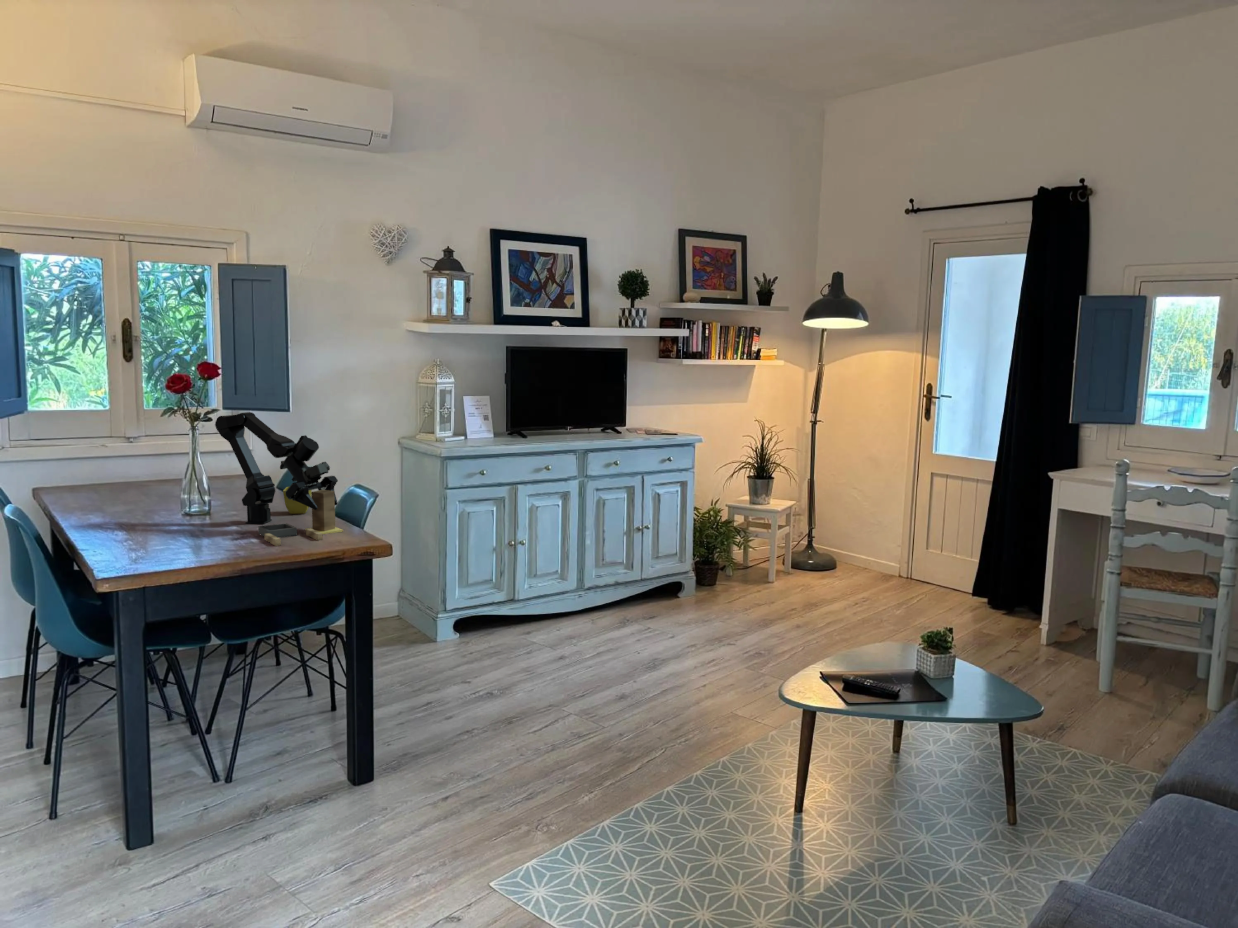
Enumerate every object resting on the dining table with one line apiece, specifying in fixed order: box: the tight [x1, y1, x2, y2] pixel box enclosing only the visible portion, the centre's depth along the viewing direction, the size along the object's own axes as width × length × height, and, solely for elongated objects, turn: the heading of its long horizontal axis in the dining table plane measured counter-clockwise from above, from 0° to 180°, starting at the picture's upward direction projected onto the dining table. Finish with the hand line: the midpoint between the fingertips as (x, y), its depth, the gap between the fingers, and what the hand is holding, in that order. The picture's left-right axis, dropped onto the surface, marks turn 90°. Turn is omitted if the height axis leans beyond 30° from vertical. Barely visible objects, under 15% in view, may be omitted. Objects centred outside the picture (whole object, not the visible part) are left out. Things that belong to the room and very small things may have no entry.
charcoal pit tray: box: [257, 522, 298, 538], centre depth 286 cm, size 9×9×2 cm
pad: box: [304, 526, 344, 535], centre depth 293 cm, size 9×9×1 cm
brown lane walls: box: [263, 527, 324, 547], centre depth 279 cm, size 10×14×2 cm
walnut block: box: [311, 490, 336, 531], centre depth 292 cm, size 5×5×12 cm
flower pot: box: [282, 486, 313, 515], centre depth 321 cm, size 9×9×9 cm
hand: (326, 506), depth 291 cm, fingers open, 9 cm apart
